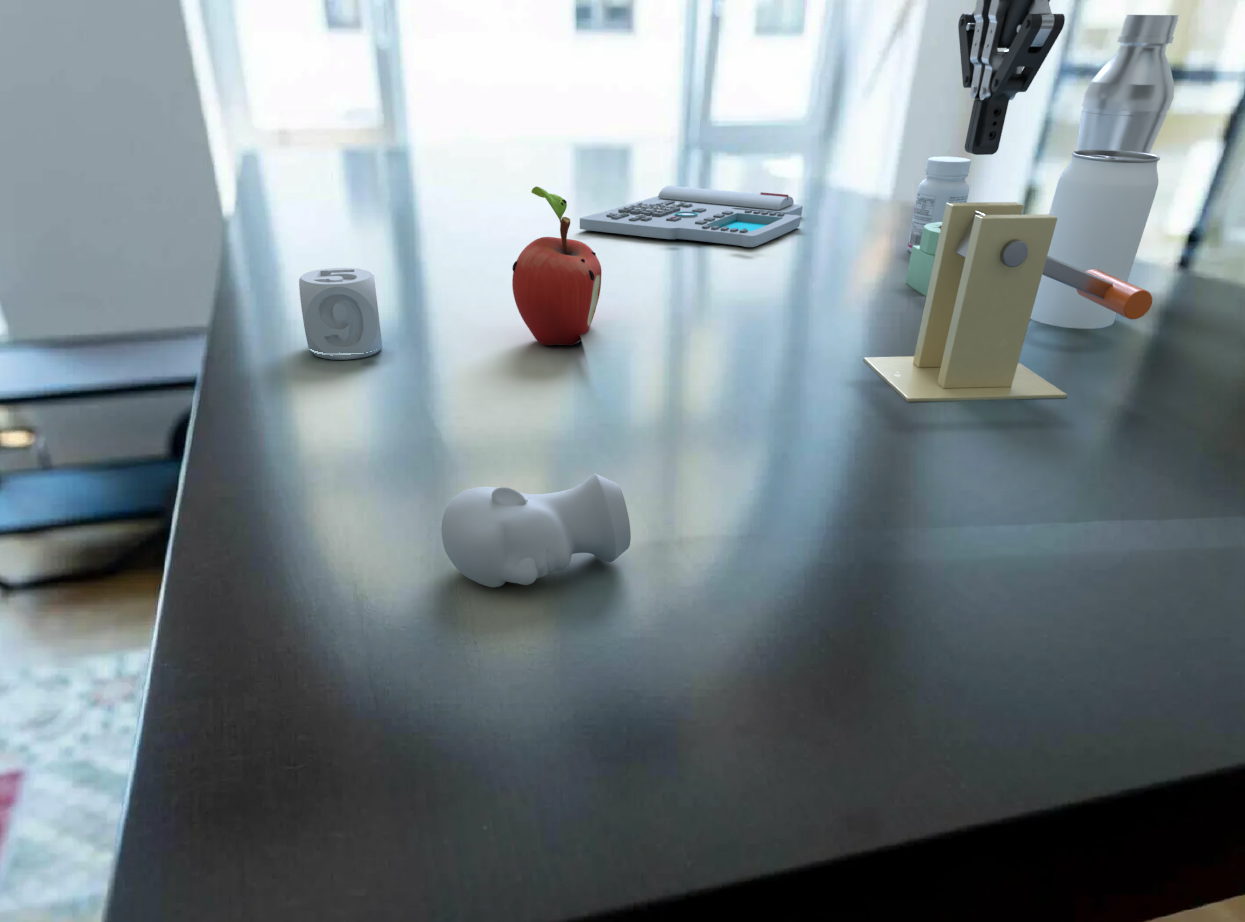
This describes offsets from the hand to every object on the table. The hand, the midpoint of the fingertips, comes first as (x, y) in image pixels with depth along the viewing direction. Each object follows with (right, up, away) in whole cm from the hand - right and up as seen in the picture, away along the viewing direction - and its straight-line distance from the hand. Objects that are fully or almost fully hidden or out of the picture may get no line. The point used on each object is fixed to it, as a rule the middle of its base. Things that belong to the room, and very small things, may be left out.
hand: (979, 153), depth 76 cm
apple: (-34, -18, -7) cm, 39 cm away
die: (-49, -19, -9) cm, 54 cm away
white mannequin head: (-34, -38, -35) cm, 62 cm away
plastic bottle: (+11, -8, +7) cm, 16 cm away
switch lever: (-5, -19, -19) cm, 27 cm away
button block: (+1, -9, +5) cm, 11 cm away
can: (+5, -16, -4) cm, 17 cm away
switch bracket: (-8, -24, -16) cm, 30 cm away
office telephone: (-19, +8, +30) cm, 36 cm away
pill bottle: (+3, 0, +19) cm, 19 cm away
